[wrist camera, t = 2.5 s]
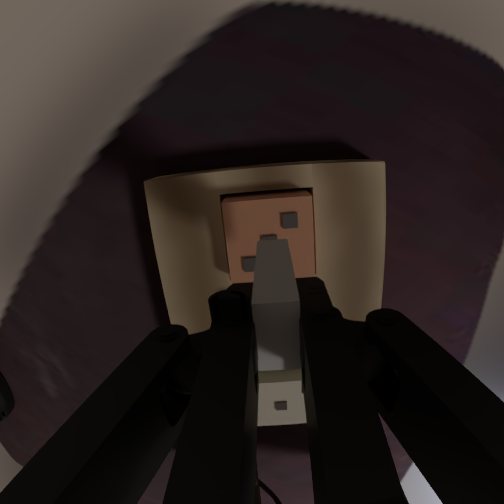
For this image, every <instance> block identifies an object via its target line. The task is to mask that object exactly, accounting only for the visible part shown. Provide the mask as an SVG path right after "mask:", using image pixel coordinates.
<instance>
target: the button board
mask: <svg viewBox="0 0 504 504" xmlns="http://www.w3.org/2000/svg"><path fill="white" fill-rule="evenodd" d="M144 188H145V194H146V201H147V207H148V213H149V219H150V225H151V231H152V236H153V242H154V247H155V252H156V258H157V263H158V268H159V272H160V277H161V282H162V287H163V291H164V296H165V300H166V304H167V309H168V313H169V317H170V321H171V324H178V325H182V326H184V327H185V328H187V330H188V334H194V333H199V332H202V331H205V330H208V329H210V326H211V322H212V321H211V315H210V309H209V304H208V298H209V297H210V296H211V295H212V294H214V293H216V292H219V291H222V290H226V289H227V288H228V287H229V286H230V285H231V277H230V270H229V262H228V254H227V246H226V238H225V230H224V222H223V213H222V205H221V203H222V201H223V200H224V199H225V197H226V195H225V194H232V193H242V192H253V191H265V190H278V189H292V188H307V191H308V192H309V193H310V194H311V195H312V207H313V229H314V256H315V277H316V276H317V277H318V278H320V279H321V280H323V281H324V284H325V286H326V289H327V291H328V294H329V297H330V299H331V302H332V305H333V307H335V308H337V309H339V311H340V312H341V313H342V316H343V318H345V319H348V320H354V321H365V320H366V315H367V314H368V313H369V312H371V311H373V310H376V309H381V300H382V288H383V274H384V257H385V229H386V179H385V161H379V160H374V159H346V160H321V161H302V162H286V163H273V164H260V165H249V166H239V167H229V168H220V169H211V170H202V171H194V172H186V173H179V174H172V175H165V176H158V177H155V178H152V179H149V180H146V181H144Z"/></svg>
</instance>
